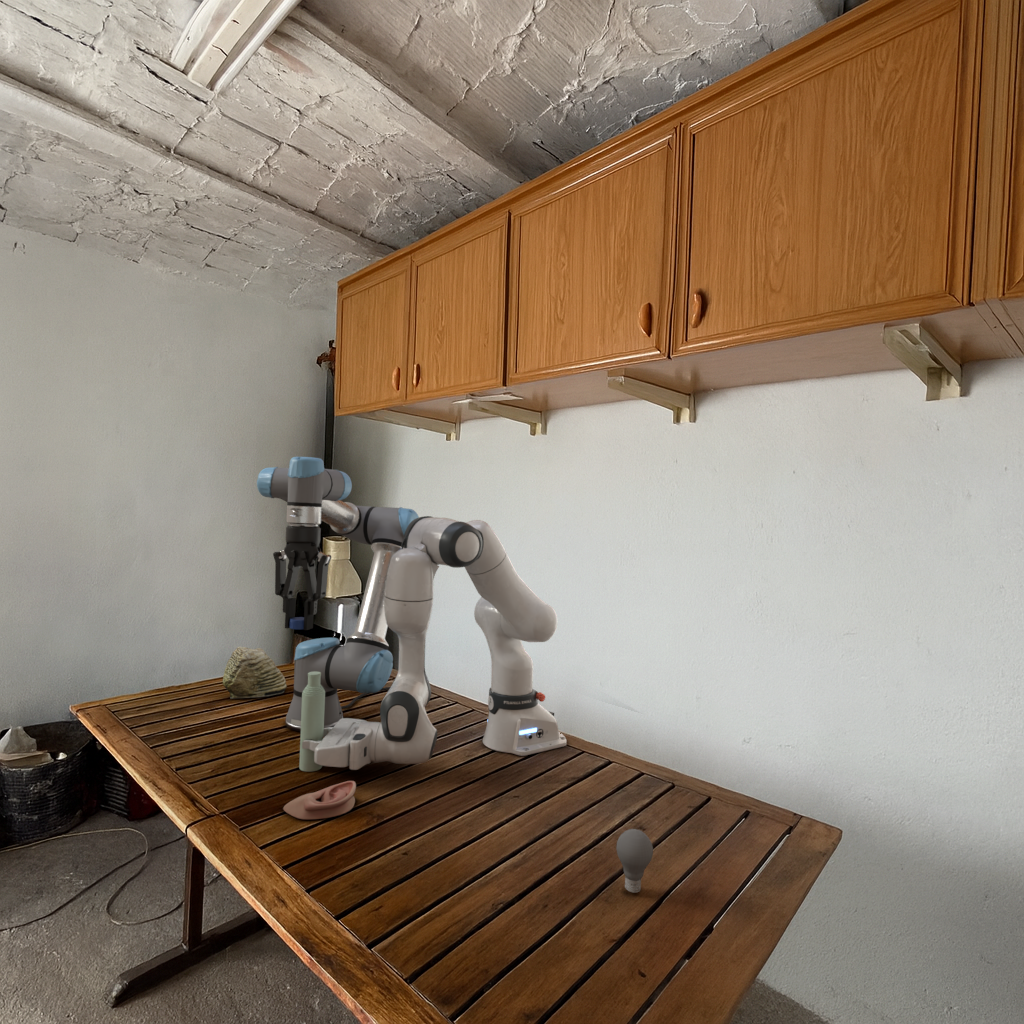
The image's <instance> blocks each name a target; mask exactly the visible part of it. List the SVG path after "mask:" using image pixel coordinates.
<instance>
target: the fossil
mask: <svg viewBox="0 0 1024 1024" xmlns="http://www.w3.org/2000/svg"><path fill="white" fill-rule="evenodd" d="M222 676H223V677H222V685H223V687H224V688H225V690H226V691H228V693H229V698H230V699H250V698H264V697H271V696H275V695H281V694H284V693H285V691H286V689H287V687H288V686H287V680H286V678H285V676H284V674H283V673H282V672H281V669H279V668H278V667H277V665H276V663H275V662H274V660H273V659H272V658H271V657H270V656H269V655H268V654H267V653H266V652H265V650H264V649H263V648H260V647H258V648H251V647H247V646H246V647H245V646H238V647H237V648H236V649H235V650H233V651H232V653H231V656H230V657H229V659H228V660H227V663H226V666H225V668H224V671H223V675H222Z"/></svg>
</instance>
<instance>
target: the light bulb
mask: <svg viewBox="0 0 1024 1024" xmlns="http://www.w3.org/2000/svg"><path fill="white" fill-rule="evenodd" d="M615 849H616V854H617V857H618V859H619V861H620V863H621V865H622V867H623V873H624V874H623V875H624V876H625V878H624V888H625V890H627V891H628V892H630V893H634V894H635V893H639V892H640V891H641V889H642V887H641V886H642V879H643V877H644V875H645V871H646V868H647V867H648V866H649V864H650V863H651V861H652V859H653V855H654V847H653V843H652V841H651V838H649V836H648V835H647V834H646V833H645V832H643V831H642V830H641V829H636V828H629V829H627V830H625V831H623V832H622V833H621V834H620V835H619V837H618V839H617V841H616V847H615Z"/></svg>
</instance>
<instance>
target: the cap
mask: <svg viewBox="0 0 1024 1024" xmlns="http://www.w3.org/2000/svg"><path fill="white" fill-rule="evenodd" d="M288 629H291V630H304V616H295V617H294V618H290V626H289V628H288Z"/></svg>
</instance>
